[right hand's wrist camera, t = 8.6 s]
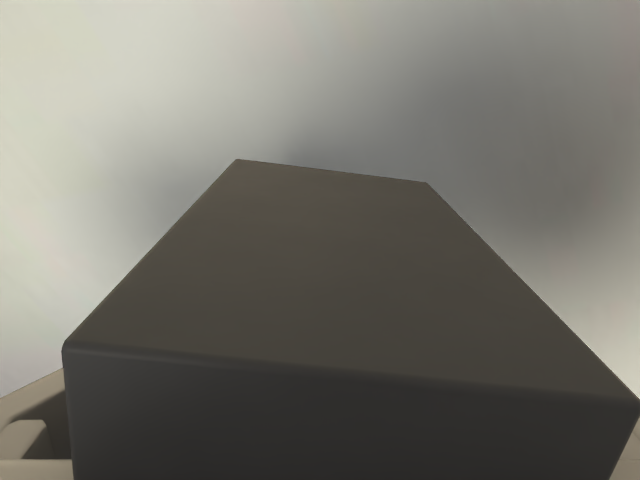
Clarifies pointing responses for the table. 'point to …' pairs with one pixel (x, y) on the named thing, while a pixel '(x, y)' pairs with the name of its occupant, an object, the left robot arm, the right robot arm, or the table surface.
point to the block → (333, 348)
